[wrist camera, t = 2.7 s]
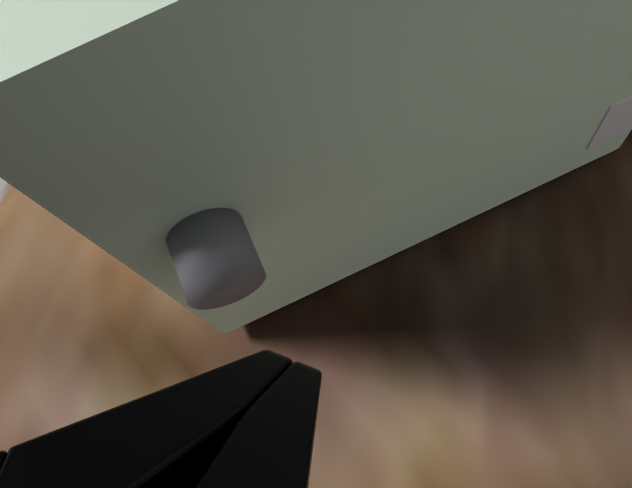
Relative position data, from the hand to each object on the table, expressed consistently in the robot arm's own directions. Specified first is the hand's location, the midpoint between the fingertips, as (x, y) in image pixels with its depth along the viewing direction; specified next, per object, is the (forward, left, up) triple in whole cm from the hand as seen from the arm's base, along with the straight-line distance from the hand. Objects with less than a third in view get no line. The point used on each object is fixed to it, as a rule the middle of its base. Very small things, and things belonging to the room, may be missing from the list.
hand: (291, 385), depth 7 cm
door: (+5, 0, -6) cm, 8 cm away
